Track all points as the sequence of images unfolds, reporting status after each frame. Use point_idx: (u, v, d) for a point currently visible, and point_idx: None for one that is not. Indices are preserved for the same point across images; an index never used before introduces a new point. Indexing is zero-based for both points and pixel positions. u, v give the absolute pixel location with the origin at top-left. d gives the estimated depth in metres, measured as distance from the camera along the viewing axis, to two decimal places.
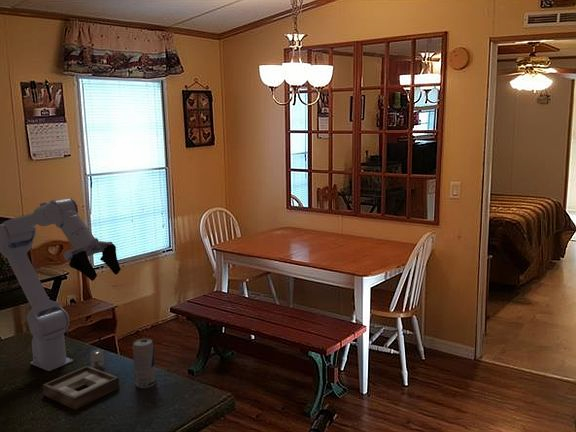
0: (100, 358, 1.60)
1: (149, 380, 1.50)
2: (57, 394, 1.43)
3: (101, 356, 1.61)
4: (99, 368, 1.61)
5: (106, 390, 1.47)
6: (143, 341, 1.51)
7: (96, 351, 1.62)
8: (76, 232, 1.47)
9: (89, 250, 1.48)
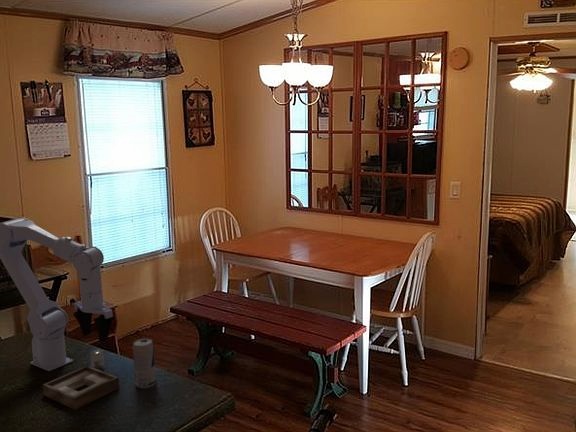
0: (100, 358, 1.60)
1: (149, 380, 1.50)
2: (57, 394, 1.43)
3: (101, 356, 1.61)
4: (99, 368, 1.61)
5: (106, 390, 1.47)
6: (143, 341, 1.51)
7: (96, 351, 1.62)
8: None
9: None
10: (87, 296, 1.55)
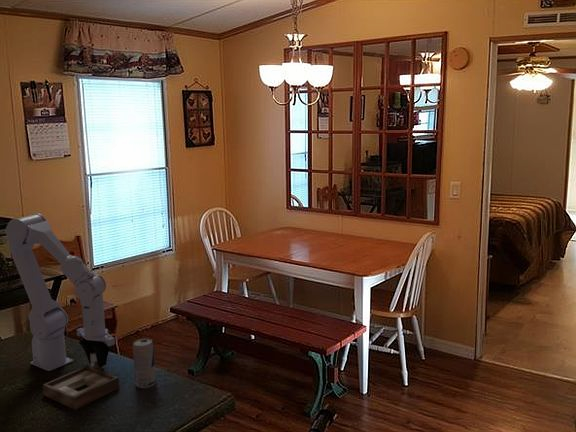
0: None
1: (149, 380, 1.50)
2: (57, 394, 1.43)
3: None
4: (99, 368, 1.61)
5: (106, 390, 1.47)
6: (143, 341, 1.51)
7: None
8: None
9: None
10: (89, 324, 1.57)
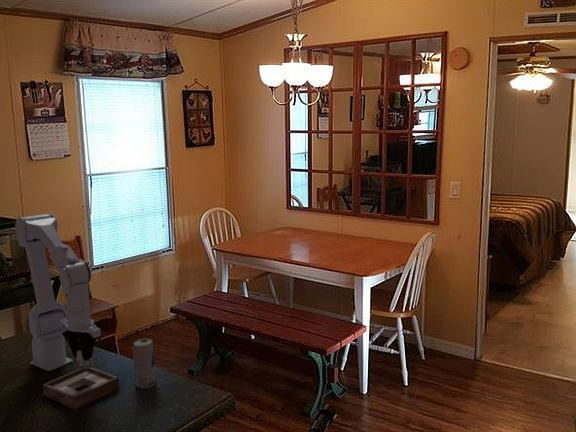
0: None
1: (149, 380, 1.50)
2: (57, 394, 1.43)
3: None
4: (88, 365, 1.49)
5: (106, 390, 1.47)
6: (143, 341, 1.51)
7: None
8: (89, 308, 1.48)
9: None
10: (73, 314, 1.45)
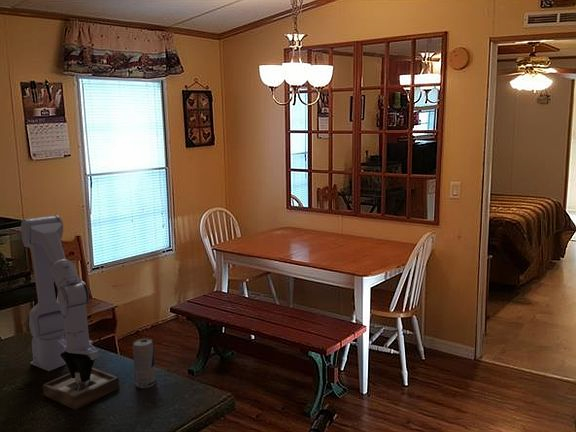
0: None
1: (149, 380, 1.50)
2: (57, 394, 1.43)
3: None
4: (86, 387, 1.48)
5: (106, 390, 1.47)
6: (143, 341, 1.51)
7: None
8: (87, 329, 1.46)
9: None
10: (71, 335, 1.43)
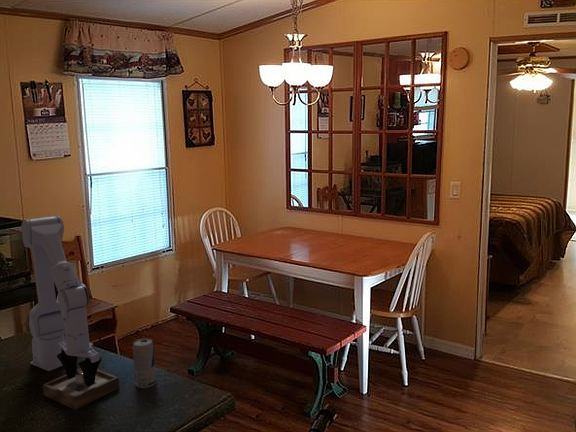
0: None
1: (149, 380, 1.50)
2: (57, 394, 1.43)
3: None
4: None
5: (106, 390, 1.47)
6: (143, 341, 1.51)
7: (81, 372, 1.49)
8: (88, 332, 1.46)
9: None
10: (72, 338, 1.43)
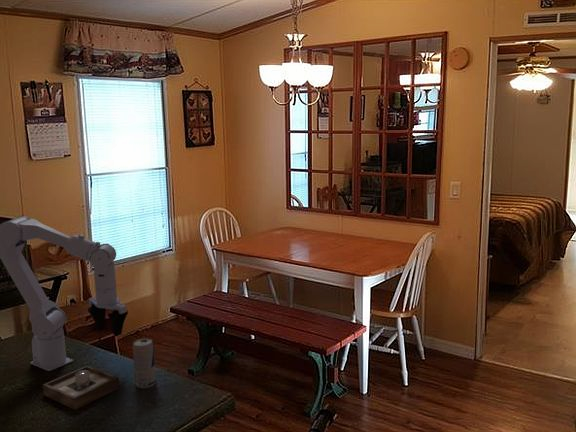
0: (87, 378, 1.48)
1: (149, 380, 1.50)
2: (57, 394, 1.43)
3: (88, 377, 1.48)
4: None
5: (106, 390, 1.47)
6: (143, 341, 1.51)
7: (81, 372, 1.49)
8: None
9: None
10: (102, 292, 1.59)
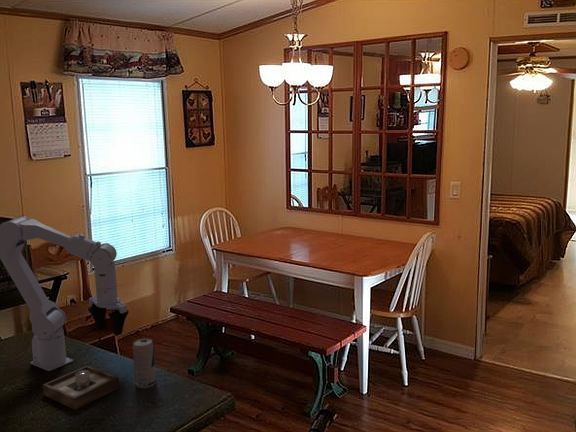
0: (87, 378, 1.48)
1: (149, 380, 1.50)
2: (57, 394, 1.43)
3: (88, 377, 1.48)
4: None
5: (106, 390, 1.47)
6: (143, 341, 1.51)
7: (81, 372, 1.49)
8: (116, 286, 1.63)
9: None
10: (102, 291, 1.59)
